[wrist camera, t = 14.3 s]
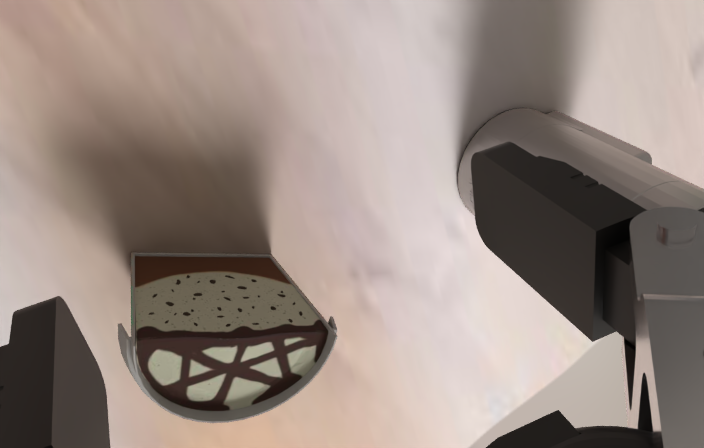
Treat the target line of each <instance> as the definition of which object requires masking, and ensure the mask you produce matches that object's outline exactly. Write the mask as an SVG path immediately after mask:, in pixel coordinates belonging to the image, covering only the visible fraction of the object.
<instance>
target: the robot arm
mask: <svg viewBox="0 0 704 448" xmlns="http://www.w3.org/2000/svg"><path fill="white" fill-rule="evenodd" d="M458 189H459V193H460V197H461V199H462V201H463V203H464V205H465V207H466V208H467V209H468V210H469V211H470V212H471V213H472V214H473V215H475V220H476V225H477V229H478V232H479V234H480V236H481V238H482V240H483V242H484V243H485V245H486V246H487V247H488V248H489V249H490V250H491V251H492V252H493V253H494V254H495V255H496V256H497V257H499V258H500V259H501V260H502V261H503V262H504V263H505V264H506V265H507V266H509V267H510V268H511V269H512V270H513V271H514V272H515V273H516V274H518V275H519V276H520V277H521V278H522V279H523V280H524V281H525V282H526V283H528V284H529V285H530V286H531V287H532V288H533V289H534V290H535V291H537V292H538V293H539V294H540V295H541V296H542V297H543V298H544V299H545V300H547V301H548V302H549V303H550V304H551V305H552V306H553V307H554V308H556V309H557V310H558V311H559V312H560V313H561V314H562V315H563V316H564V317H566V318H567V319H568V320H569V321H570V322H571V323H572V324H573V325H575V326H576V327H577V328H578V329H579V330H580V331H581V332H582V333H583V334H585V335H586V336H587V337H588V338H589V339H590V340H591V341H592V342H593V341H595V340H598V339H600V338H602V337H604V336H607V335H609V334H611V333H614V332H616V331H617V332H618V333H619V334H621V335H622V336H623V339H622V361H623V373H624V386H625V399H626V411H627V423H628V428H627V427H618V426H593V427H581V428H574V427H573V426H572V425H571V423H570V422H569V421H568V420H567V419H566V418H565V417H564V416H563V415H562V414H561V412H560V411H559V410H558V411H555V412H553V413H551V414H548V415H546V416H544V417H542V418H540V419H538V420H535V421H533V422H531V423H529V424H527V425H525V426H523V427H520V428H518V429H516V430H514V431H512V432H509V433H507V434H505V435H503V436H501V437H499V438H497V439H496V440H495V441H493V442H492V443H491V444H490V445H488V446H487V447H486V448H704V189H703V188H700V187H698V186H696V185H694V184H692V183H689V182H687V181H685V180H683V179H681V178H679V177H677V176H674V175H672V174H670V173H668V172H666V171H664V170H662V169H660V168H658V167H655V166H653V165H652V158H651V156H650V154H649V153H647V152H646V151H644V150H642V149H640V148H637V147H635V146H633V145H631V144H629V143H626V142H624V141H622V140H620V139H618V138H615V137H613V136H611V135H609V134H607V133H604V132H602V131H600V130H598V129H596V128H593V127H591V126H589V125H587V124H585V123H582V122H580V121H578V120H576V119H574V118H571V117H569V116H567V115H565V114H563V113H560V112H558V111H553V112H551V113H546V114H545V113H541V112H539V111H537V110H534V109H529V108H518V109H511V110H509V111H506V112H503V113H501V114H499V115H497V116H496V117H494V118H493V119H491V120H489V121H488V122H487V123H486V124H485V125H484V126H483V127H482V128H481V129H479V131H478V132H477V133H476V134H475V136H474V137H473V138H472V139H471V141H470V143H469V145H468V146H467V148H466V150H465V152H464V154H463V157H462V160H461V163H460V167H459V173H458ZM0 448H110V438H109V424H108V409H107V395H106V389H105V384H104V380H103V377H102V374H101V371H100V369H99V366H98V364H97V362H96V359H95V358H94V356H93V354H92V352H91V350H90V348H89V346H88V344H87V342H86V340H85V338H84V336H83V335H82V333H81V331H80V329H79V327H78V325H77V323H76V321H75V319H74V317H73V315H72V313H71V312H70V310H69V308H68V306H67V304H66V303H65V301H64V300H63V299H62V298H61V297H60V296H57V297H54V298H52V299H49V300H46V301H43V302H40V303H37V304H34V305H31V306H29V307H26V308H23V309H20V310H17V311H15V312H14V313H13V317H12V325H11V332H10V340H9V344H7V345H4V346H2V347H0Z"/></svg>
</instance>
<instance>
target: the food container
mask: <svg viewBox="0 0 704 448" xmlns="http://www.w3.org/2000/svg"><path fill="white" fill-rule="evenodd" d="M336 332H337V328H336V325H335V322H334V319H333V317H330V319H329V322H328V323H327V322H326V320H325V319H324V318H323V317H322V315H321V314H320V313H319V312H318V311H317V309H316V308H315V307H314V306H313V304H312V303H311V302H310V301H309V300H308V298H307V297H306V296H305V295H304V293H303V292H302V291H301V290H300V289H299V287H298V286H297V285H296V284H295V283H294V281H293V280H292V279H291V278H290V276H289V275H288V274H287V273H286V272H285V270H284V269H283V268H282V267H281V265H280V264H279V263H278V262H277V261H276V259H275V258H274V257H273V256H272V254H211V253H138V252H131V337H129V336H128V334H127V332H126V331H125V329H124V327H123V326H122V324H118V340H119V345H120V349H121V354H122V356H123V358H124V361H125V363H126V365H127V367H128V369H129V371H130V373H131V374H132V376H133V378H134V380H135V381H136V382H137V384H138V385H139V387H140V388H141V390H142V391H143V392H144V393H145V394H146V395H147V396H148V397H149V398H150V399H151V400H152V401H154V402H155V403H157V404H158V405H159V406H160V407H162V408H163V409H165V410H166V411H168V412H170V413H172V414H174V415H177V416H179V417H181V418H184V419H188V420H193V421H197V422H207V423H223V422H232V421H238V420H244V419H247V418H250V417H254V416H257V415H260V414H262V413H265V412H267V411H269V410H272V409H274V408H276V407H277V406H279V405H281V404H283V403H285V402H286V401H288V400H289V399H290V398H292V397H293V396H295V395H296V394H298V393H299V392H300V391H301V390H302V389H303V388H304V387H306V386H307V385H308V384H309V383H310V382H311V381H312V380H313V378H314V377H315V376H316V375H317V374H318V373H319V371H320V370H321V369H322V367H323V366H324V364H325V363H326V361H327V360H328V358H329V356H330V354H331V352H332V350H333V348H334V345H335V342H336V339H337V335H336Z"/></svg>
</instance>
